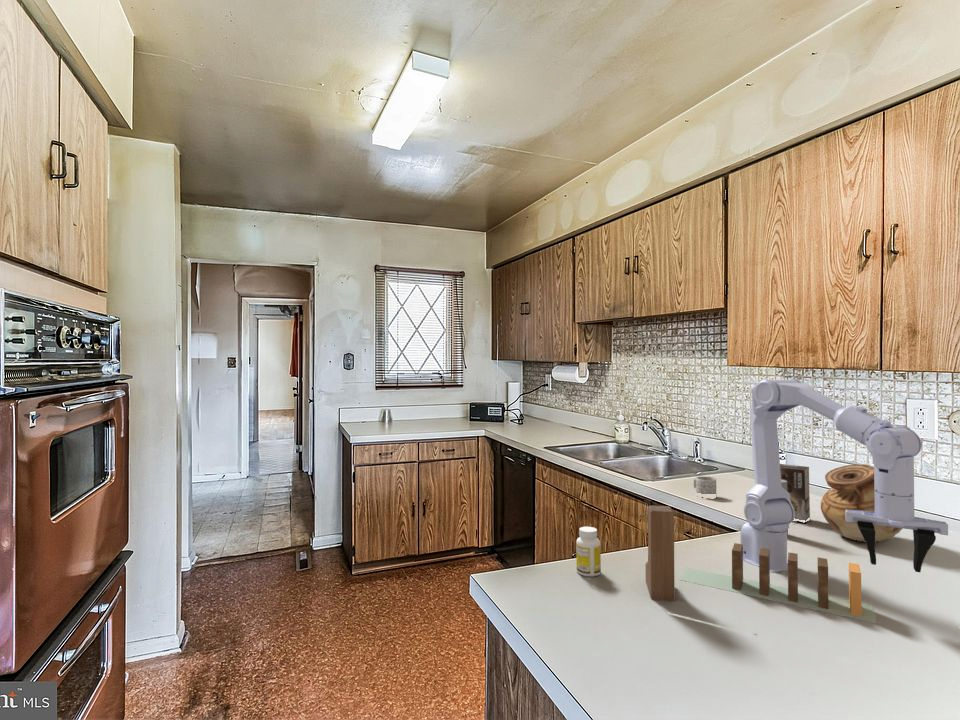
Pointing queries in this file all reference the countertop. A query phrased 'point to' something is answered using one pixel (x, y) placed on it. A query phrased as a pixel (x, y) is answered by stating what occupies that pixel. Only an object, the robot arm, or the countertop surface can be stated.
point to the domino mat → (776, 594)
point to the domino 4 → (823, 583)
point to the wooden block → (660, 553)
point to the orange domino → (855, 589)
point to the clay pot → (852, 500)
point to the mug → (705, 485)
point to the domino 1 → (737, 566)
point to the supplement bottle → (588, 552)
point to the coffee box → (797, 488)
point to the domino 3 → (793, 577)
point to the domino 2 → (764, 571)
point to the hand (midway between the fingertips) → (894, 566)
